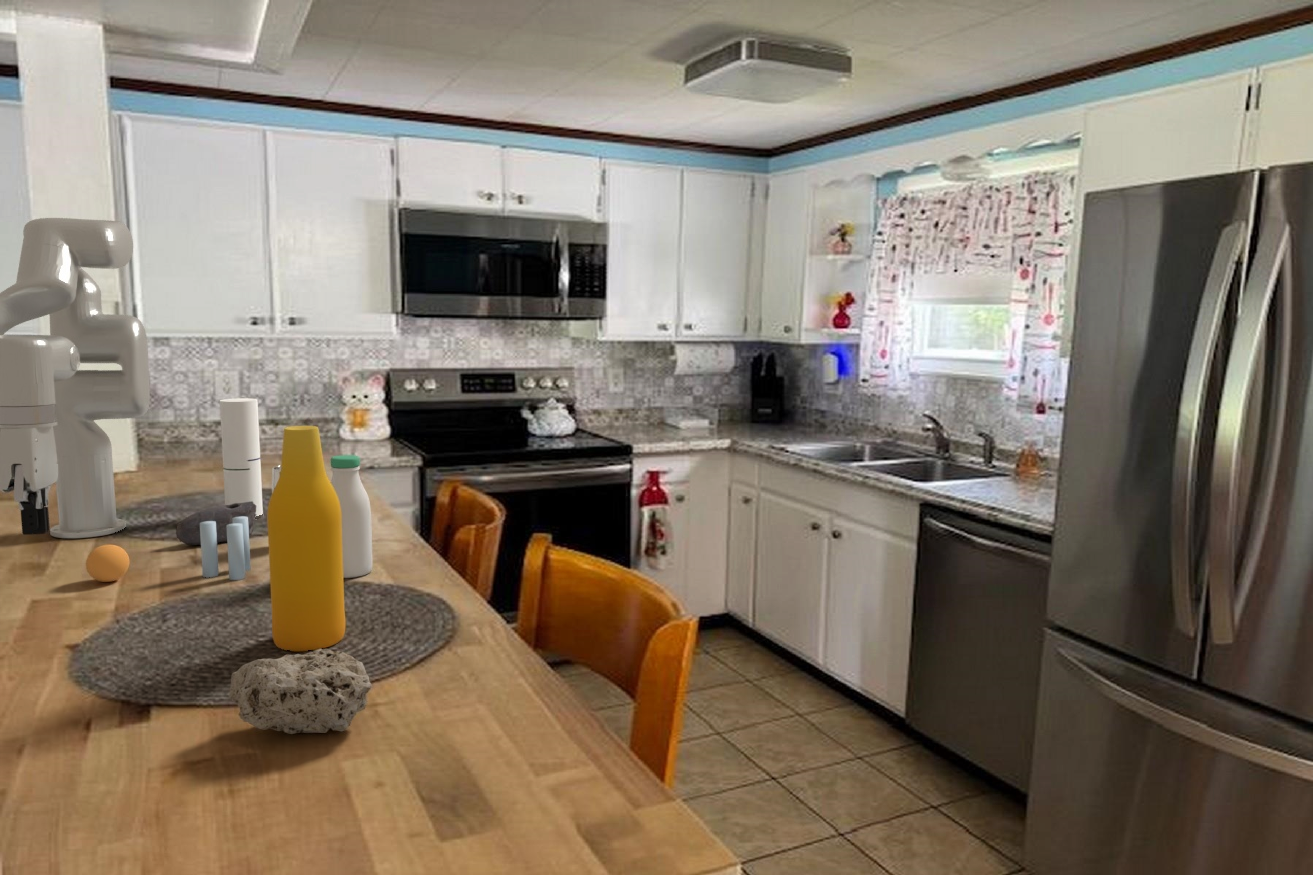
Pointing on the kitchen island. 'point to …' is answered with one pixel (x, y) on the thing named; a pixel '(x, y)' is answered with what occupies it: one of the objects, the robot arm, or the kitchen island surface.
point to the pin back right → (245, 539)
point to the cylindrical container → (241, 452)
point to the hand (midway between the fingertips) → (36, 532)
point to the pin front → (209, 549)
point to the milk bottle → (353, 516)
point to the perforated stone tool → (221, 515)
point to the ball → (107, 563)
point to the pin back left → (235, 551)
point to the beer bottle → (305, 548)
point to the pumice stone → (301, 692)
